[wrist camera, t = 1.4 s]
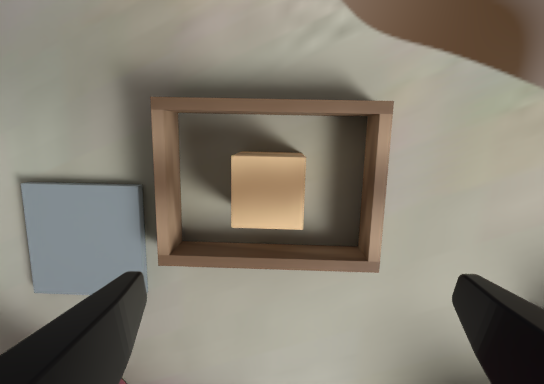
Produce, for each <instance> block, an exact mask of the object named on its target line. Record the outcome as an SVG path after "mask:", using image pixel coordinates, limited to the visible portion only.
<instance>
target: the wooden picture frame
mask: <svg viewBox="0 0 544 384" xmlns="http://www.w3.org/2000/svg"><path fill="white" fill-rule="evenodd" d="M150 98H151V120H152V141H153V162H154V183H155V204H156V225H157V247H158V266H188V267H219V268H250V269H281V270H312V271H343V272H375V273H379V266H380V254H381V243H382V231H383V220H384V208H385V197H386V185H387V174H388V162H389V151H390V139H391V128H392V116H393V105H394V101H359V100H303V99H246V98H190V97H150ZM178 113H213V114H265V115H318V116H368V117H367V131H366V144H365V158H364V172H363V186H362V199H361V213H360V227H359V240H358V246H326V245H293V244H260V243H226V242H193V241H182V219H181V188H180V157H179V126H178Z"/></svg>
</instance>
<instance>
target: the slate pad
mask: <svg viewBox="0 0 544 384" xmlns="http://www.w3.org/2000/svg"><path fill="white" fill-rule="evenodd" d="M21 190H22V198H23V206H24V214H25V222H26V230H27V238H28V246H29V254H30V262H31V270H32V278H33V286H34V293H49V294H77V295H92V294H93V293H95V292H96V291H98V290H99V289H101V288H102V287H104V286H105V285H107V284H108V283H110V282H111V281H113V280H114V279H116V278H117V277H119V276H120V275H122V274H123V273H125V272H127V271H140V272H142V273H143V276H144V281H145V287H146V292H147V293H148V283H147V264H146V246H145V227H144V209H143V191H142V185H130V184H91V183H51V182H26V183H21Z"/></svg>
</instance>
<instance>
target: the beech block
mask: <svg viewBox="0 0 544 384" xmlns="http://www.w3.org/2000/svg"><path fill="white" fill-rule="evenodd" d="M305 169H306V157H305V156H304V155H303V154H302V153H290V152H247V151H241V152H239V153H237V154H234V155H232V156H231V228H262V229H295V230H303V218H304V194H305Z"/></svg>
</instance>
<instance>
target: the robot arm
mask: <svg viewBox="0 0 544 384" xmlns="http://www.w3.org/2000/svg"><path fill="white" fill-rule="evenodd" d="M146 301H147V292H146V287H145V281H144V276H143V273H142V272H140V271H127V272H125V273H123V274H122V275H120V276H119V277H117V278H116V279H114V280H113V281H111V282H110V283H108V284H107V285H105V286H104V287H102V288H101V289H99V290H98V291H96V292H95V293H93V294H92V295H90V296H89V297H87V298H86V299H84V300H83V301H81V302H80V303H78V304H77V305H75V306H74V307H72V308H71V309H69V310H68V311H66V312H65V313H63V314H62V315H60V316H59V317H57V318H56V319H54V320H53V321H51V322H50V323H48V324H47V325H45V326H44V327H42V328H41V329H39V330H38V331H36V332H35V333H33V334H31V335H30V336H28V337H27V338H25V339H24V340H22V341H21V342H19V343H18V344H16V345H15V346H13V347H12V348H10V349H9V350H7V351H6V352H4V353H3V354H1V355H0V384H119V383H120V380H121V378H122V376H123V373H124V371H125V368H126V366H127V363H128V361H129V358H130V356H131V352H132V349H133V346H134V343H135V339H136V336H137V332H138V329H139V326H140V322H141V319H142V315H143V312H144V309H145V305H146ZM452 302H453V306H454V308H455V310H456V313H457V315H458V317H459V319H460V322H461V324H462V326H463V328H464V331H465V333H466V335H467V337H468V340H469V342H470V344H471V347H472V349H473V351H474V353H475V355H476V357H477V359H478V361H479V363H480V365H481V366H482V368H483V370H484V372H485V374H486V375H487V377H488V379H489V381H490V382H491V384H544V309H542V308H540V307H538V306H536V305H534V304H532V303H530V302H528V301H527V300H525V299H523V298H521V297H519V296H517V295H515V294H513V293H511V292H509V291H507V290H506V289H504V288H502V287H500V286H498V285H496V284H494V283H492V282H490V281H488V280H487V279H485V278H483V277H481V276H479V275H476V274H462V275H460V276H459V277H458V280H457V283H456V286H455V289H454V292H453V295H452Z"/></svg>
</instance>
